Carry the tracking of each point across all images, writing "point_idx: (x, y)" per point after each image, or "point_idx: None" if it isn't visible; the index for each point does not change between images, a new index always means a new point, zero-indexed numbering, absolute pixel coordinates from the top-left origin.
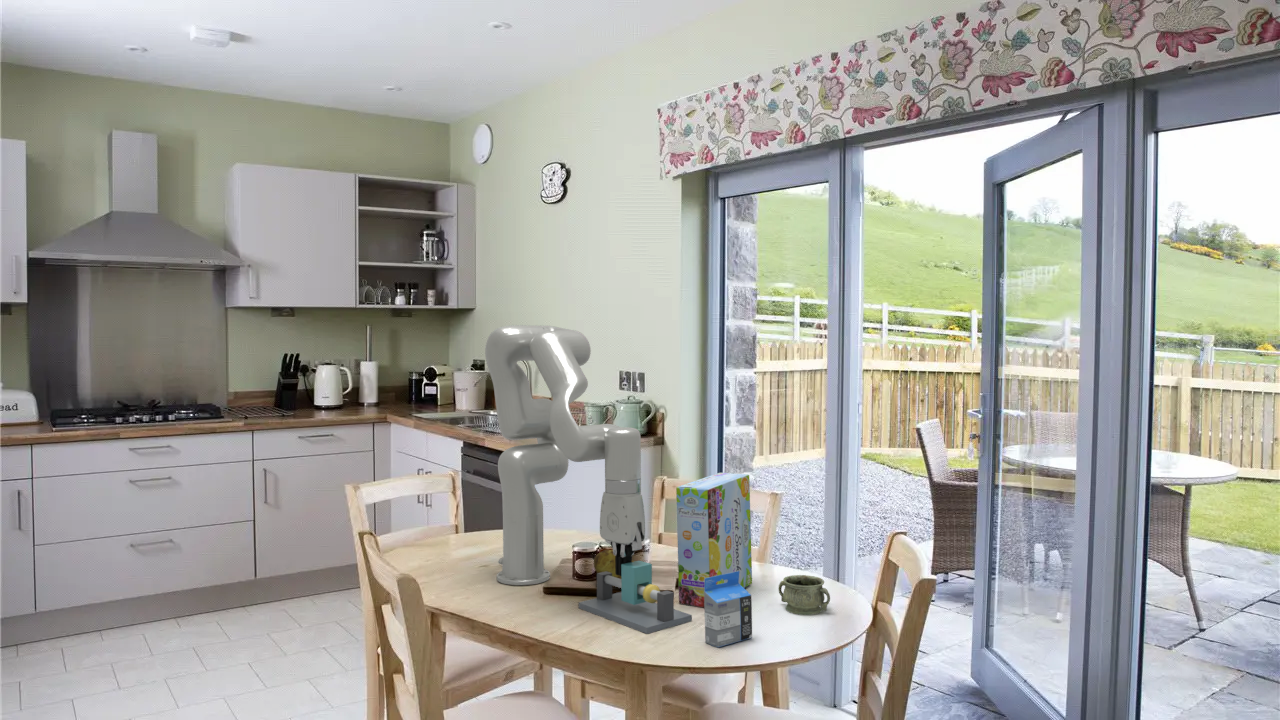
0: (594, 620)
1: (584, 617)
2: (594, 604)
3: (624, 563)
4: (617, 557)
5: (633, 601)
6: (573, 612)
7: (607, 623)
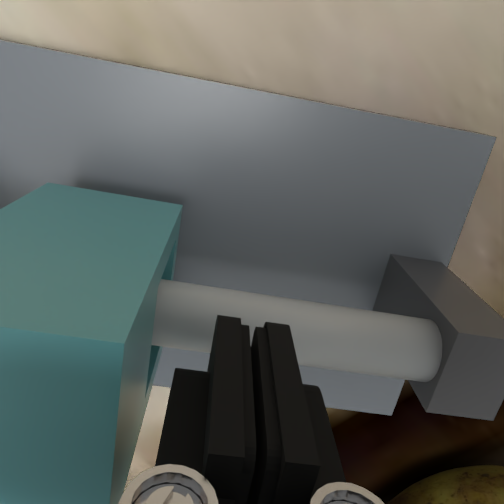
0: (255, 5)
1: (344, 12)
2: (386, 167)
3: (177, 422)
4: (279, 455)
5: (47, 189)
6: (460, 48)
7: (153, 11)
